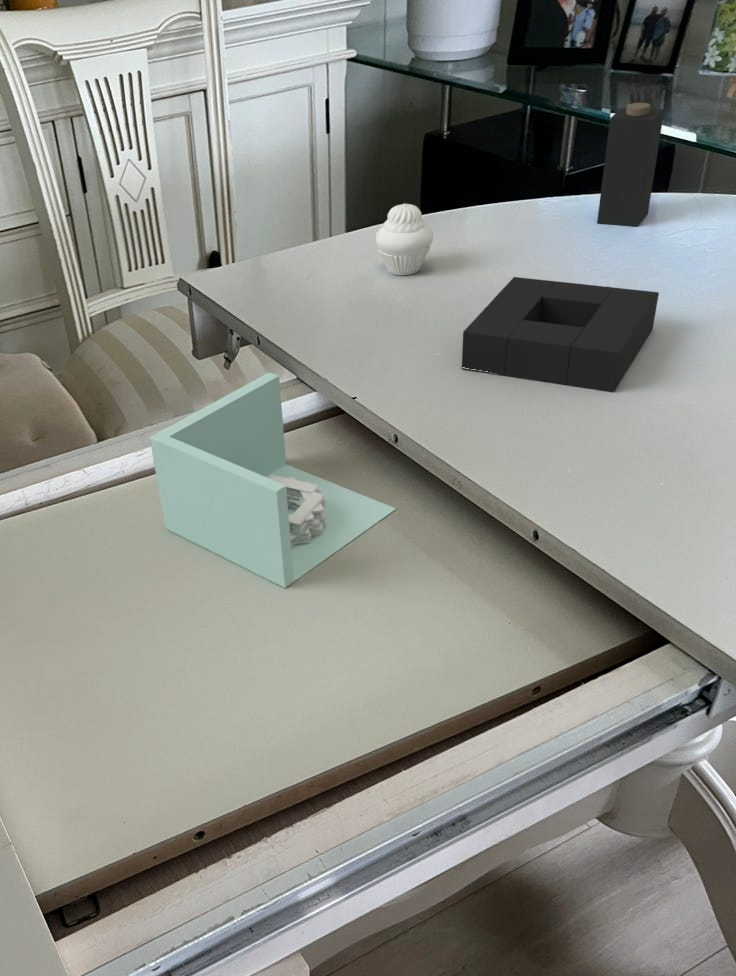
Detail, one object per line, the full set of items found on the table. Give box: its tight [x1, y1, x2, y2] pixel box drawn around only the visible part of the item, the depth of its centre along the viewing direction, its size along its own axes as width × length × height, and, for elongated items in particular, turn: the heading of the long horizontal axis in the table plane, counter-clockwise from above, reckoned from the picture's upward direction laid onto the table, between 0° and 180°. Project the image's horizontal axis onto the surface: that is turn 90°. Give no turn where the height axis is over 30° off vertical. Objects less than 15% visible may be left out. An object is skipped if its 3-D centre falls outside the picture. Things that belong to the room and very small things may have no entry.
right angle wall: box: [149, 372, 397, 589], centre depth 71 cm, size 12×12×8 cm
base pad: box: [461, 276, 660, 393], centre depth 89 cm, size 13×13×4 cm
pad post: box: [596, 102, 665, 227], centre depth 111 cm, size 5×5×12 cm
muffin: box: [375, 202, 434, 276], centre depth 106 cm, size 6×6×7 cm
